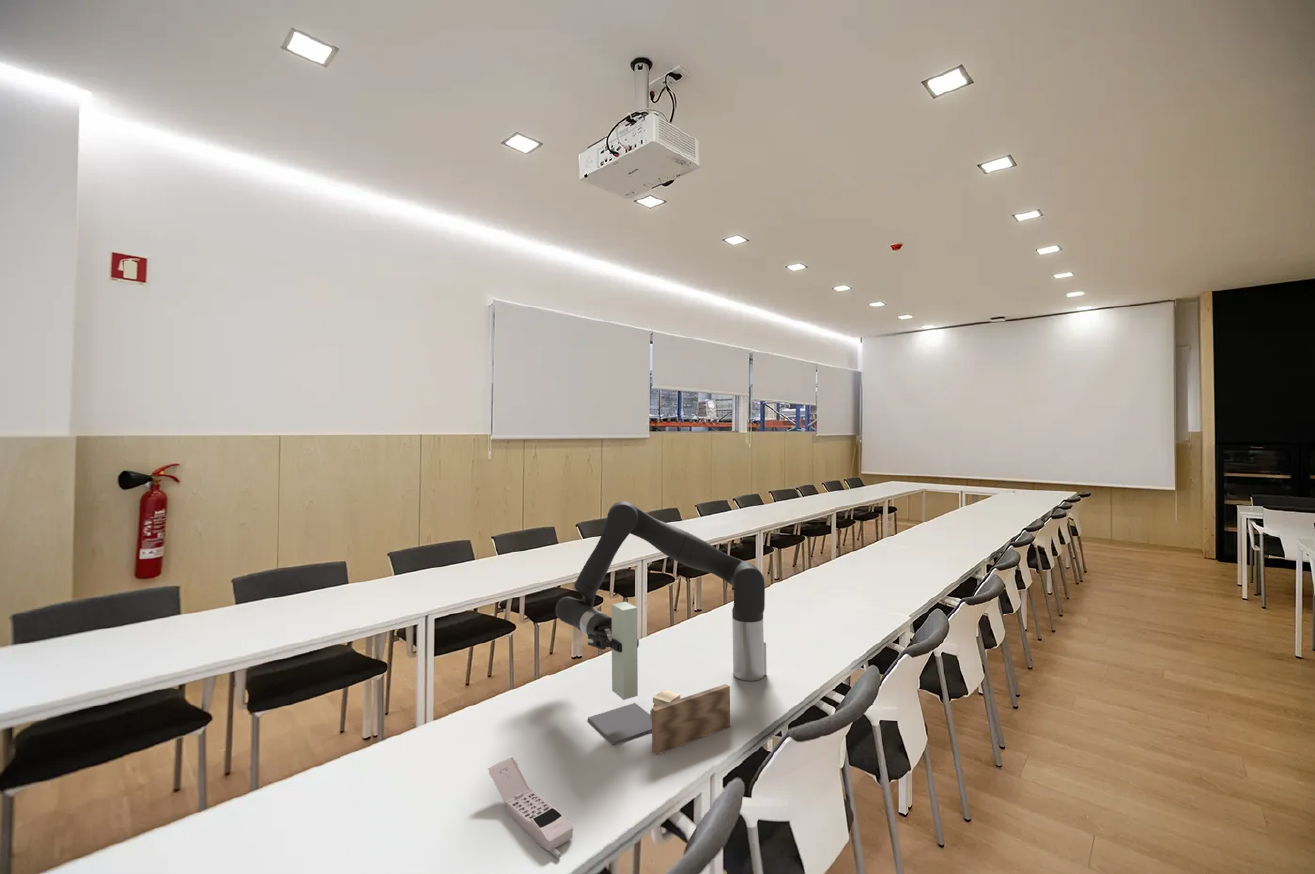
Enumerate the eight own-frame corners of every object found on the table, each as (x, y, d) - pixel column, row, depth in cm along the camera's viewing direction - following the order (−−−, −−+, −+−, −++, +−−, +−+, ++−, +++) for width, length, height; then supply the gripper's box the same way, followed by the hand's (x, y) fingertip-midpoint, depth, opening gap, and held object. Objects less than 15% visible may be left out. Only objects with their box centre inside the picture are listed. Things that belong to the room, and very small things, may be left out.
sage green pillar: (625, 686, 143) (625, 601, 143) (637, 695, 138) (637, 607, 138) (612, 690, 141) (611, 604, 141) (623, 699, 136) (623, 610, 136)
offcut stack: (661, 704, 150) (661, 687, 150) (683, 709, 147) (683, 692, 147) (649, 716, 144) (649, 698, 144) (672, 721, 141) (672, 703, 141)
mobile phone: (512, 755, 116) (581, 812, 98) (513, 783, 116) (582, 845, 98) (485, 767, 112) (552, 829, 94) (486, 796, 112) (553, 864, 94)
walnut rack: (710, 713, 144) (709, 674, 144) (730, 726, 138) (729, 686, 138) (637, 738, 132) (637, 697, 132) (655, 754, 126) (655, 710, 126)
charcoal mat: (635, 704, 149) (634, 702, 149) (663, 727, 138) (663, 724, 138) (587, 719, 142) (587, 717, 142) (613, 744, 130) (613, 742, 130)
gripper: (574, 617, 148) (603, 637, 133) (620, 608, 156) (653, 625, 141) (574, 645, 148) (603, 668, 134) (621, 635, 156) (653, 655, 141)
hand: (628, 646), depth 137 cm, fingers closed on sage green pillar, 4 cm apart
